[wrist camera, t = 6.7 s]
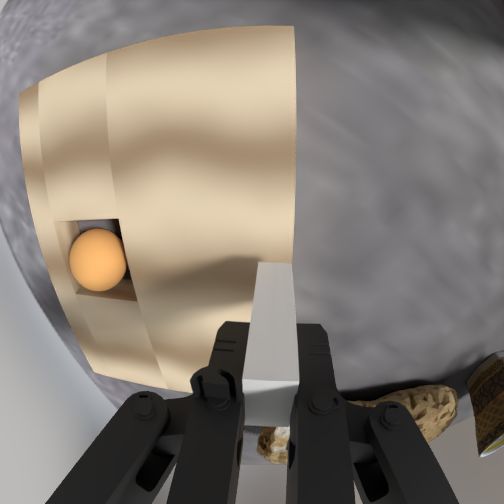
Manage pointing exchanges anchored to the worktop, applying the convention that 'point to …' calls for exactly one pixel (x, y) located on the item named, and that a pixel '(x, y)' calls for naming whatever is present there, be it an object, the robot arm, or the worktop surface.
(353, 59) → the worktop surface
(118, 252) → the ball
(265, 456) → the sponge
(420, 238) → the worktop surface
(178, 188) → the board
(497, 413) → the ceramic cup
